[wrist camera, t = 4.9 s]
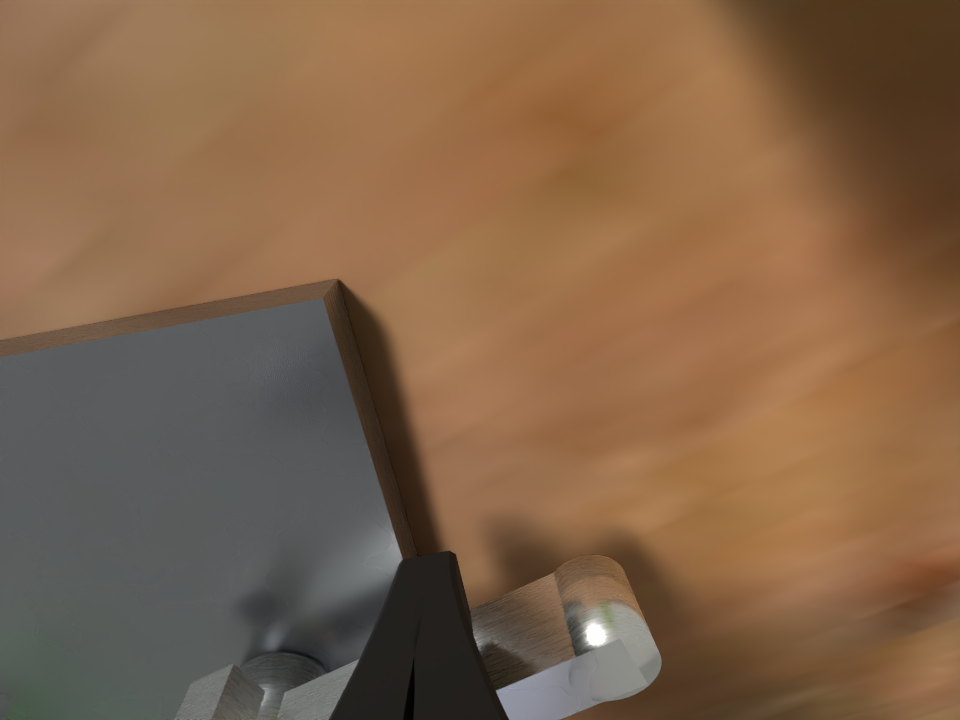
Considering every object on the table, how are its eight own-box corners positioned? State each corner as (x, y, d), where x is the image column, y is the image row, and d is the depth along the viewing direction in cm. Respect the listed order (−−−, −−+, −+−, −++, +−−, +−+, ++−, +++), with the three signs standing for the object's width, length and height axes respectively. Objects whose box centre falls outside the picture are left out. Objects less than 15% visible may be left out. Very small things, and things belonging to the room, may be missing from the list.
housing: (457, 692, 16) (458, 741, 15) (-174, 806, 16) (-229, 867, 15) (337, 278, 11) (322, 298, 9) (-618, 453, 11) (-771, 498, 9)
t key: (296, 741, 14) (261, 883, 12) (190, 652, 13) (120, 793, 10) (641, 593, 13) (694, 714, 10) (573, 472, 11) (615, 577, 9)
